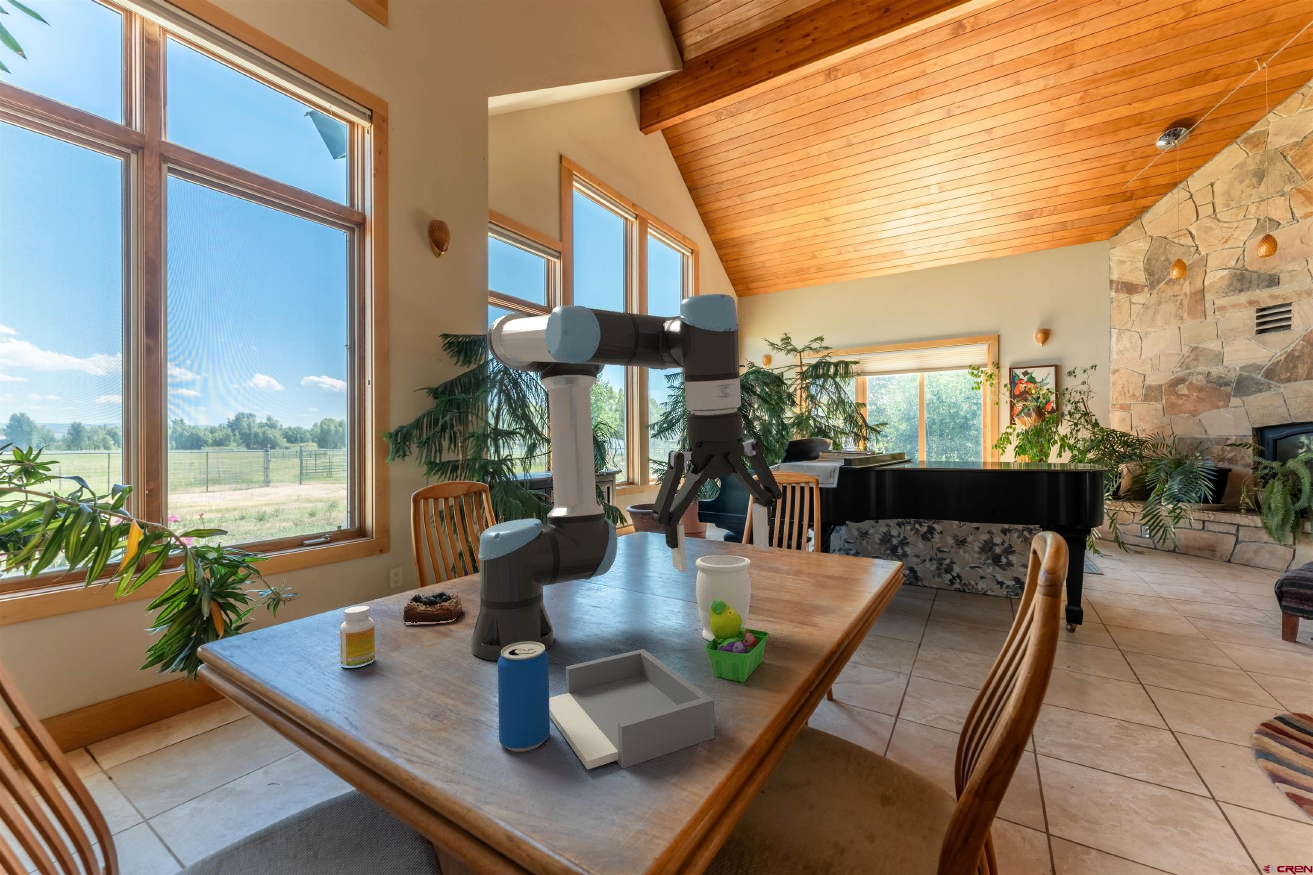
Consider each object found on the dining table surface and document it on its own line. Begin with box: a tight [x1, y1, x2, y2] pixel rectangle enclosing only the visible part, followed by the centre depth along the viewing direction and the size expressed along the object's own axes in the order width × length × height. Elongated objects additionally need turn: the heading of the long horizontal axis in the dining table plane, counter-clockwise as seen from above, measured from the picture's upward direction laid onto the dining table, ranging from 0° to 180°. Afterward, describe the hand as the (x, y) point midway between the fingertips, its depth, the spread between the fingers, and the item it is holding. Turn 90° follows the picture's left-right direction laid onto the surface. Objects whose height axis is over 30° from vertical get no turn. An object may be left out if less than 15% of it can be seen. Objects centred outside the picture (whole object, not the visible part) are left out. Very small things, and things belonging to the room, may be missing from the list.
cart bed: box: [549, 648, 715, 770], centre depth 77 cm, size 20×17×5 cm
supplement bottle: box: [339, 605, 376, 666], centre depth 98 cm, size 5×5×10 cm
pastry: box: [402, 591, 463, 623], centre depth 123 cm, size 11×12×6 cm
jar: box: [695, 554, 752, 642], centre depth 108 cm, size 11×10×15 cm
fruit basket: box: [705, 600, 770, 683], centre depth 93 cm, size 11×9×11 cm
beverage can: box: [497, 641, 551, 753], centre depth 72 cm, size 6×6×12 cm
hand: (721, 558), depth 79 cm, fingers open, 13 cm apart
